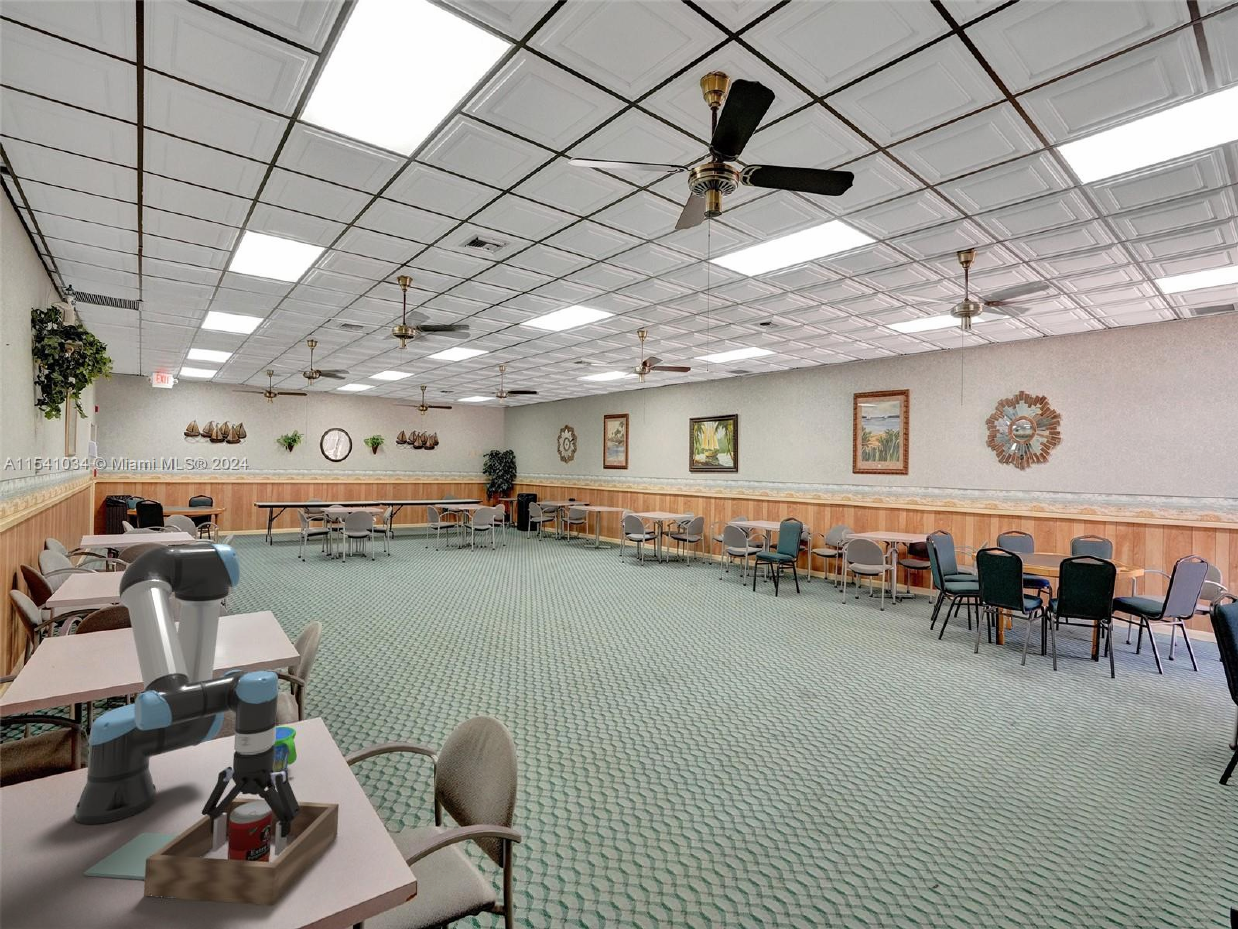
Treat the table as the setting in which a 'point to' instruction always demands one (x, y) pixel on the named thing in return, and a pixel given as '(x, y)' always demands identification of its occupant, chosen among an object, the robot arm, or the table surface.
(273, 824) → the frame
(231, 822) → the canned food
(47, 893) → the table surface
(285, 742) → the snack cup
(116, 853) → the mat
